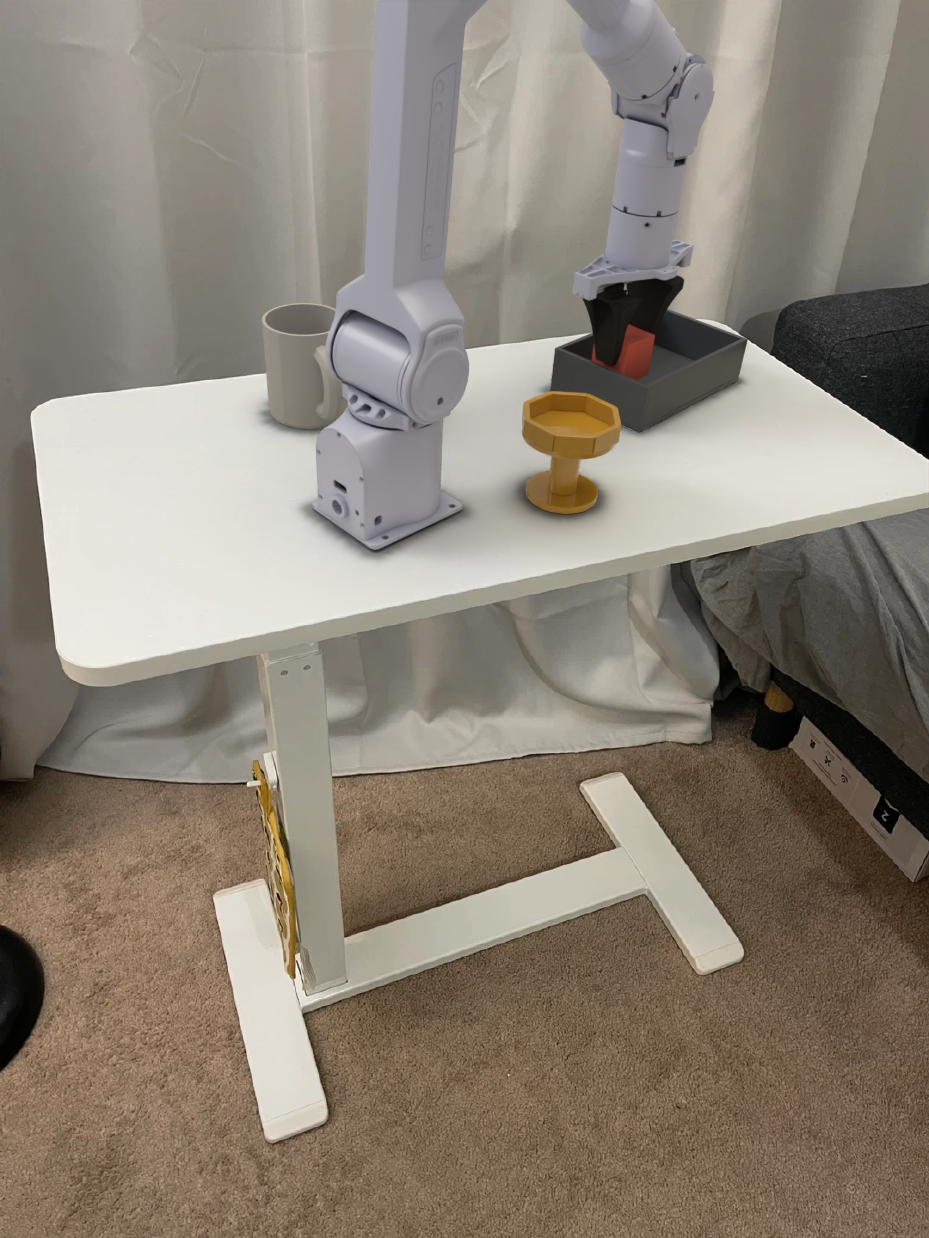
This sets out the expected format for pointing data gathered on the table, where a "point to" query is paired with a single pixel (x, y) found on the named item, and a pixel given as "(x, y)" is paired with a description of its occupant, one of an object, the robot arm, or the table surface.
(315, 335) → the cup
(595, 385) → the bin
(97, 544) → the table surface
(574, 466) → the bowl
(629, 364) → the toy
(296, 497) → the table surface
